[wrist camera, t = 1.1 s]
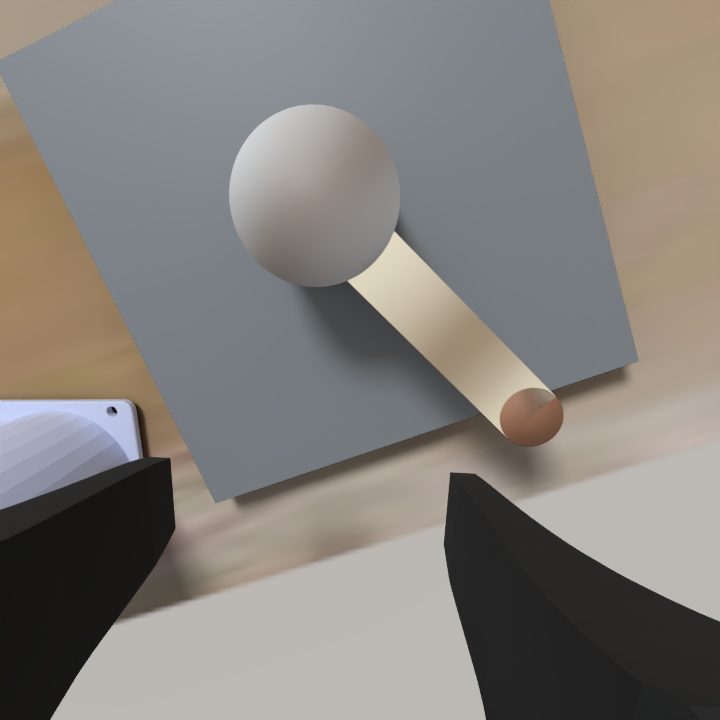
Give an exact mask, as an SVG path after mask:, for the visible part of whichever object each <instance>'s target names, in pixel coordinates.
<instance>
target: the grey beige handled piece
mask: <svg viewBox="0 0 720 720" xmlns="http://www.w3.org/2000/svg"><path fill="white" fill-rule="evenodd" d="M229 203H230V210H231V215H232V219H233V223H234V226H235V229H236V231H237V234H238V236H239V238H240V240H241V241H242V243H243V245H244V247H245V248H246V249H247V251H248V252H249V254H250V255H251V256H252V257H253V258H254V259H255V260H256V261H257V263H258V264H260V265H261V266H262V267H263V268H264V269H266V270H267V271H268V272H270V273H271V274H273V275H274V276H276V277H278V278H280V279H282V280H284V281H287V282H290V283H293V284H296V285H301V286H306V287H325V286H332V285H336V284H340V283H343V282H345V281H348V282H349V283H350V284H351V285H352V286H353V287H354V288H355V289H356V290H357V291H358V292H359V293H360V294H361V295H362V296H363V297H364V298H365V299H366V300H367V301H368V302H369V303H370V304H371V305H372V306H373V307H374V308H375V309H376V310H377V311H378V312H379V313H380V314H381V315H382V316H384V317H385V318H386V319H387V320H388V321H389V322H390V323H391V324H392V325H393V326H394V327H395V328H396V329H397V330H398V331H399V332H400V333H401V334H402V335H403V336H404V337H405V338H406V339H407V340H408V341H409V342H410V343H411V344H412V345H413V346H414V347H415V348H416V349H417V350H418V351H419V352H420V353H421V354H422V355H423V356H424V357H425V358H426V359H427V360H428V361H429V362H430V363H431V364H432V365H433V366H434V367H435V368H436V369H438V370H439V371H440V372H441V373H442V374H443V375H444V376H445V377H446V378H447V379H448V380H449V381H450V382H451V383H452V384H453V385H454V386H455V387H456V388H457V389H458V390H459V391H460V392H461V393H462V394H463V395H464V396H465V397H466V398H467V399H468V400H469V401H470V402H471V403H472V404H473V405H474V406H475V407H476V408H477V409H478V410H479V411H480V412H481V413H482V414H483V415H484V416H485V417H486V418H487V419H488V420H489V421H490V422H492V423H493V424H494V425H495V426H496V427H497V428H498V429H499V430H500V431H501V432H502V433H503V434H504V435H505V436H506V437H507V438H508V439H509V440H510V441H512V442H513V443H515V444H517V445H520V446H526V447H533V446H538V445H541V444H544V443H546V442H548V441H549V440H550V439H552V438H553V437H554V436H555V435H556V434H557V432H558V431H559V429H560V427H561V425H562V422H563V408H562V405H561V403H560V401H559V400H558V398H557V397H556V396H555V395H554V394H553V393H552V392H551V391H550V390H549V389H548V388H547V387H546V386H545V385H544V384H543V383H542V382H541V381H540V380H539V379H538V378H537V377H536V376H535V375H534V374H533V373H532V372H531V371H530V369H529V368H528V367H527V366H526V365H525V364H524V363H523V362H522V361H521V360H520V359H519V358H518V357H517V356H516V355H515V354H514V353H513V352H512V351H511V350H510V349H509V348H508V347H507V346H506V345H505V344H504V343H503V342H502V341H501V340H500V339H499V338H498V337H497V336H496V335H495V334H494V333H493V332H492V331H491V330H490V329H489V328H488V327H487V326H486V324H485V323H484V322H483V321H482V320H481V319H480V318H479V317H478V316H477V315H476V314H475V313H474V312H473V311H472V310H471V309H470V308H469V307H468V306H467V305H466V304H465V303H464V302H463V301H462V300H461V299H460V298H459V297H458V296H457V295H456V294H455V293H454V292H453V291H452V290H451V289H450V288H449V287H448V286H447V285H446V284H445V283H444V282H443V281H442V279H441V278H440V277H439V276H438V275H437V274H436V273H435V272H434V271H433V270H432V269H431V268H430V267H429V266H428V265H427V264H426V263H425V262H424V261H423V260H422V259H421V258H420V257H419V256H418V255H417V254H416V253H415V252H414V251H413V250H412V249H411V248H410V247H409V246H408V245H407V244H406V243H405V242H404V241H403V240H402V239H401V238H400V237H399V235H398V234H397V233H396V232H395V231H394V230H395V227H396V224H397V220H398V215H399V209H400V185H399V180H398V175H397V171H396V168H395V165H394V162H393V160H392V157H391V155H390V153H389V151H388V149H387V148H386V146H385V145H384V143H383V141H382V140H381V139H380V138H379V136H378V135H377V134H376V133H375V132H374V131H373V130H372V129H371V128H370V127H369V126H368V125H367V124H366V123H365V122H363V121H362V120H360V119H359V118H357V117H356V116H354V115H352V114H350V113H348V112H346V111H344V110H341V109H338V108H335V107H331V106H326V105H314V104H309V105H300V106H295V107H291V108H288V109H285V110H283V111H280V112H278V113H276V114H274V115H273V116H271V117H269V118H268V119H266V120H265V121H264V122H262V123H261V124H260V125H259V126H258V127H257V128H256V129H255V130H254V131H253V132H252V133H251V134H250V135H249V137H248V138H247V139H246V141H245V142H244V144H243V145H242V147H241V149H240V151H239V153H238V155H237V157H236V160H235V163H234V165H233V169H232V173H231V178H230V187H229Z"/></svg>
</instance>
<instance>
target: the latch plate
mask: <svg viewBox="0 0 720 720" xmlns="http://www.w3.org/2000/svg"><path fill="white" fill-rule="evenodd" d="M0 75H1V77H2V79H3V81H4V83H5V85H6V87H7V89H8V91H9V93H10V95H11V97H12V99H13V101H14V103H15V105H16V107H17V109H18V111H19V113H20V115H21V117H22V119H23V121H24V123H25V125H26V127H27V129H28V131H29V133H30V135H31V136H32V138H33V140H34V142H35V144H36V146H37V148H38V150H39V152H40V154H41V156H42V158H43V160H44V162H45V164H46V166H47V168H48V170H49V172H50V174H51V176H52V178H53V180H54V182H55V184H56V186H57V188H58V190H59V192H60V194H61V196H62V198H63V200H64V202H65V204H66V206H67V208H68V210H69V212H70V214H71V216H72V218H73V220H74V222H75V224H76V226H77V228H78V230H79V232H80V234H81V236H82V238H83V240H84V242H85V244H86V246H87V248H88V250H89V252H90V254H91V256H92V258H93V260H94V262H95V264H96V266H97V268H98V270H99V272H100V274H101V276H102V278H103V280H104V282H105V284H106V286H107V288H108V290H109V292H110V294H111V296H112V298H113V300H114V302H115V304H116V306H117V308H118V310H119V312H120V314H121V316H122V318H123V320H124V322H125V324H126V326H127V328H128V330H129V332H130V334H131V336H132V338H133V340H134V342H135V344H136V346H137V348H138V350H139V352H140V354H141V356H142V358H143V360H144V362H145V364H146V366H147V368H148V370H149V372H150V374H151V376H152V377H153V379H154V381H155V383H156V385H157V387H158V389H159V391H160V393H161V395H162V397H163V399H164V401H165V403H166V405H167V407H168V409H169V411H170V413H171V415H172V417H173V419H174V421H175V423H176V425H177V427H178V429H179V431H180V433H181V435H182V437H183V439H184V441H185V443H186V445H187V447H188V449H189V451H190V453H191V455H192V457H193V459H194V461H195V463H196V465H197V467H198V469H199V471H200V473H201V475H202V477H203V479H204V481H205V483H206V485H207V487H208V489H209V491H210V493H211V495H212V497H213V499H214V501H215V503H218V502H221V501H224V500H227V499H230V498H233V497H236V496H239V495H242V494H245V493H248V492H251V491H254V490H257V489H260V488H263V487H266V486H269V485H272V484H275V483H278V482H281V481H284V480H287V479H289V478H292V477H295V476H298V475H301V474H304V473H307V472H310V471H313V470H316V469H319V468H322V467H325V466H328V465H331V464H334V463H337V462H340V461H343V460H346V459H349V458H352V457H355V456H358V455H361V454H364V453H367V452H370V451H373V450H376V449H379V448H382V447H385V446H388V445H391V444H394V443H396V442H399V441H402V440H405V439H408V438H411V437H414V436H417V435H420V434H423V433H426V432H429V431H432V430H435V429H438V428H441V427H444V426H447V425H450V424H453V423H456V422H459V421H462V420H465V419H468V418H471V417H474V416H477V415H480V414H482V413H481V412H480V411H479V410H478V409H477V408H476V407H475V406H474V405H473V404H472V403H471V402H470V401H469V400H468V399H467V398H466V397H465V396H464V395H463V394H462V393H461V392H460V391H459V390H458V389H457V388H456V387H455V386H454V385H453V384H452V383H451V382H450V381H449V380H448V379H447V378H446V377H445V376H444V375H443V374H442V373H441V372H440V371H439V370H438V369H436V368H435V367H434V366H433V365H432V364H431V363H430V362H429V361H428V360H427V359H426V358H425V357H424V356H423V355H422V354H421V353H420V352H419V351H418V350H417V349H416V348H415V347H414V346H413V345H412V344H411V343H410V342H409V341H408V340H407V339H406V338H405V337H404V336H403V335H402V334H401V333H400V332H399V331H398V330H397V329H396V328H395V327H394V326H393V325H392V324H391V323H390V322H389V321H388V320H387V319H386V318H385V317H384V316H382V315H381V314H380V313H379V312H378V311H377V310H376V309H375V308H374V307H373V306H372V305H371V304H370V303H369V302H368V301H367V300H366V299H365V298H364V297H363V296H362V295H361V294H360V293H359V292H358V291H357V290H356V289H355V288H354V287H353V286H352V285H351V284H350V283H349V282H348V281H345V282H343V283H340V284H336V285H332V286H325V287H306V286H301V285H296V284H293V283H290V282H287V281H284V280H282V279H280V278H278V277H276V276H274V275H273V274H271V273H270V272H268V271H267V270H266V269H264V268H263V267H262V266H261V265H260V264H258V263H257V261H256V260H255V259H254V258H253V257H252V256H251V255H250V254H249V252H248V251H247V249H246V248H245V247H244V245H243V243H242V241H241V240H240V238H239V236H238V234H237V231H236V229H235V226H234V223H233V219H232V215H231V210H230V203H229V187H230V178H231V173H232V169H233V165H234V163H235V160H236V157H237V155H238V153H239V151H240V149H241V147H242V145H243V144H244V142H245V141H246V139H247V138H248V137H249V135H250V134H251V133H252V132H253V131H254V130H255V129H256V128H257V127H258V126H259V125H260V124H261V123H262V122H264V121H265V120H266V119H268V118H269V117H271V116H273V115H274V114H276V113H278V112H280V111H283V110H285V109H288V108H291V107H295V106H300V105H309V104H314V105H326V106H331V107H335V108H338V109H341V110H344V111H346V112H348V113H350V114H352V115H354V116H356V117H357V118H359V119H360V120H362V121H363V122H365V123H366V124H367V125H368V126H369V127H370V128H371V129H372V130H373V131H374V132H375V133H376V134H377V135H378V136H379V138H380V139H381V140H382V141H383V143H384V145H385V146H386V148H387V149H388V151H389V153H390V155H391V157H392V160H393V162H394V165H395V168H396V171H397V175H398V180H399V185H400V209H399V215H398V220H397V224H396V227H395V230H394V231H395V232H396V233H397V234H398V235H399V237H400V238H401V239H402V240H403V241H404V242H405V243H406V244H407V245H408V246H409V247H410V248H411V249H412V250H413V251H414V252H415V253H416V254H417V255H418V256H419V257H420V258H421V259H422V260H423V261H424V262H425V263H426V264H427V265H428V266H429V267H430V268H431V269H432V270H433V271H434V272H435V273H436V274H437V275H438V276H439V277H440V278H441V279H442V281H443V282H444V283H445V284H446V285H447V286H448V287H449V288H450V289H451V290H452V291H453V292H454V293H455V294H456V295H457V296H458V297H459V298H460V299H461V300H462V301H463V302H464V303H465V304H466V305H467V306H468V307H469V308H470V309H471V310H472V311H473V312H474V313H475V314H476V315H477V316H478V317H479V318H480V319H481V320H482V321H483V322H484V323H485V324H486V326H487V327H488V328H489V329H490V330H491V331H492V332H493V333H494V334H495V335H496V336H497V337H498V338H499V339H500V340H501V341H502V342H503V343H504V344H505V345H506V346H507V347H508V348H509V349H510V350H511V351H512V352H513V353H514V354H515V355H516V356H517V357H518V358H519V359H520V360H521V361H522V362H523V363H524V364H525V365H526V366H527V367H528V368H529V369H530V371H531V372H532V373H533V374H534V375H535V376H536V377H537V378H538V379H539V380H540V381H541V382H542V383H543V384H544V385H545V386H546V387H547V388H548V389H549V390H550V391H551V390H554V389H557V388H560V387H563V386H566V385H569V384H572V383H575V382H578V381H581V380H584V379H587V378H590V377H593V376H596V375H599V374H602V373H605V372H608V371H611V370H614V369H616V368H619V367H622V366H625V365H628V364H631V363H634V362H637V361H638V357H637V353H636V349H635V345H634V340H633V336H632V332H631V328H630V324H629V320H628V316H627V312H626V308H625V304H624V300H623V296H622V292H621V288H620V284H619V280H618V276H617V272H616V268H615V264H614V260H613V256H612V252H611V248H610V244H609V240H608V236H607V232H606V228H605V224H604V220H603V215H602V211H601V207H600V203H599V199H598V195H597V191H596V187H595V183H594V179H593V175H592V171H591V167H590V163H589V159H588V155H587V151H586V147H585V143H584V139H583V135H582V131H581V127H580V123H579V119H578V115H577V111H576V107H575V103H574V99H573V95H572V90H571V86H570V82H569V78H568V74H567V70H566V66H565V62H564V58H563V54H562V50H561V46H560V42H559V38H558V34H557V30H556V26H555V22H554V18H553V14H552V10H551V6H550V2H549V0H117V1H115V2H113V3H111V4H109V5H107V6H105V7H103V8H101V9H99V10H97V11H95V12H93V13H91V14H89V15H87V16H85V17H83V18H81V19H79V20H78V21H76V22H74V23H72V24H70V25H68V26H66V27H64V28H62V29H60V30H58V31H56V32H54V33H52V34H50V35H48V36H46V37H44V38H42V39H40V40H38V41H36V42H35V43H33V44H31V45H29V46H27V47H25V48H23V49H21V50H19V51H17V52H15V53H13V54H11V55H9V56H7V57H5V58H3V59H1V60H0Z"/></svg>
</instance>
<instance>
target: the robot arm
mask: <svg viewBox="0 0 720 720" xmlns="http://www.w3.org/2000/svg"><path fill="white" fill-rule="evenodd" d="M112 407H115V408H116V410H117V414H116V413H114V412H113V411H112ZM174 530H175V515H174V502H173V488H172V475H171V461H170V458H158V457H145V458H143V452H142V445H141V438H140V431H139V424H138V417H137V410H136V407H135V405H134V404H133V402H131V401H129V400H126V399H86V400H0V720H50V719H51V717H52V716H53V714H54V712H55V711H56V709H57V707H58V706H59V704H60V702H61V701H62V699H63V698H64V696H65V694H66V693H67V691H68V689H69V688H70V686H71V684H72V683H73V681H74V679H75V678H76V676H77V674H78V673H79V672H80V670H81V669H82V667H83V666H84V664H85V663H86V661H87V660H88V658H89V657H90V655H91V654H92V652H93V651H94V650H95V648H96V647H97V646H98V644H99V643H100V641H101V640H102V638H103V637H104V636H105V635H106V633H107V632H108V630H109V629H110V628H111V626H112V625H113V624H114V622H115V621H116V619H117V618H118V617H119V615H120V614H121V613H122V611H123V610H124V609H125V607H126V606H127V604H128V603H129V602H130V600H131V599H132V598H133V596H134V595H135V593H136V592H137V591H138V589H139V588H140V586H141V585H142V584H143V582H144V581H145V579H146V578H147V577H148V575H149V574H150V572H151V571H152V570H153V568H154V567H155V565H156V564H157V562H158V560H159V558H160V557H161V555H162V553H163V551H164V549H165V548H166V546H167V544H168V542H169V540H170V538H171V536H172V534H173V532H174ZM444 548H445V555H446V561H447V568H448V574H449V579H450V585H451V588H452V592H453V596H454V599H455V603H456V606H457V610H458V614H459V617H460V620H461V624H462V627H463V631H464V635H465V638H466V641H467V645H468V649H469V652H470V655H471V659H472V663H473V666H474V670H475V673H476V677H477V681H478V685H479V689H480V693H481V697H482V701H483V706H484V711H485V716H486V720H720V622H719V621H717V620H714V619H712V618H710V617H707V616H705V615H703V614H700V613H698V612H696V611H694V610H691V609H689V608H687V607H685V606H683V605H680V604H678V603H676V602H674V601H672V600H670V599H667V598H665V597H663V596H661V595H659V594H657V593H655V592H653V591H651V590H649V589H647V588H645V587H643V586H641V585H639V584H637V583H635V582H633V581H631V580H630V579H627V578H626V577H624V576H622V575H620V574H618V573H616V572H615V571H613V570H611V569H609V568H608V567H606V566H604V565H602V564H601V563H599V562H597V561H596V560H594V559H592V558H591V557H589V556H587V555H586V554H584V553H582V552H581V551H579V550H577V549H576V548H574V547H573V546H571V545H569V544H568V543H566V542H565V541H563V540H562V539H561V538H559V537H558V536H556V535H555V534H553V533H551V532H550V531H549V530H547V529H546V528H545V527H543V526H542V525H540V524H539V523H538V522H536V521H535V520H533V519H532V518H531V517H529V516H528V515H527V514H526V513H524V512H523V511H522V510H520V509H519V508H518V507H517V506H515V505H514V504H513V503H512V502H510V501H509V500H508V499H507V498H505V497H504V496H503V495H502V494H500V493H499V492H498V491H497V490H495V489H494V488H493V487H492V486H491V485H489V484H488V483H487V482H486V481H484V480H483V479H482V478H480V477H479V476H477V475H476V474H469V473H450V483H449V494H448V505H447V515H446V526H445V538H444Z"/></svg>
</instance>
